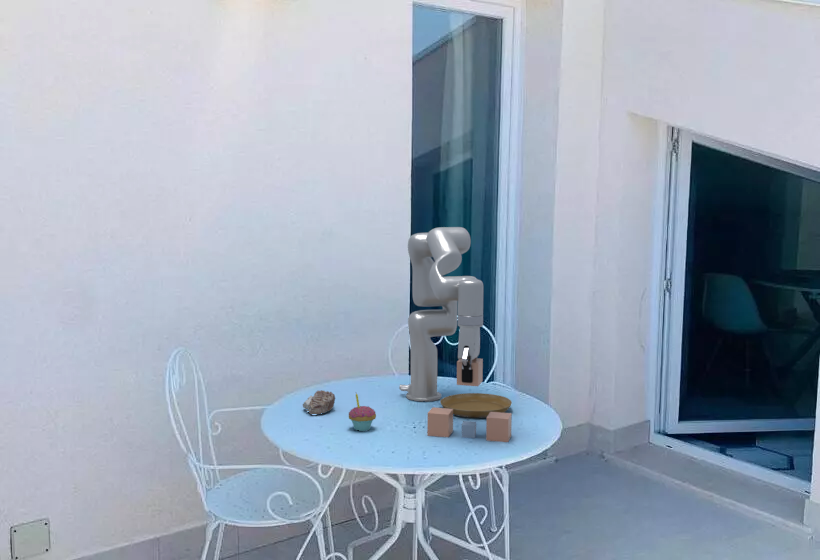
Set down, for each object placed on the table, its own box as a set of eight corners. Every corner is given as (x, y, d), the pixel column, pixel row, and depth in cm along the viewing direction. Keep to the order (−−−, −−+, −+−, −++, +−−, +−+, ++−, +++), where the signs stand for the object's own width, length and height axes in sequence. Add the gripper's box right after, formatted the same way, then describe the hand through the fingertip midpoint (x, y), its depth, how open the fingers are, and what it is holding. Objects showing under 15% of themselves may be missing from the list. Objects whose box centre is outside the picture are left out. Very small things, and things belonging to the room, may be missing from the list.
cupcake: (355, 434, 240) (354, 395, 239) (344, 427, 247) (343, 389, 246) (380, 430, 244) (380, 392, 243) (369, 423, 251) (368, 386, 250)
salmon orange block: (486, 440, 234) (486, 417, 233) (490, 434, 240) (490, 411, 240) (508, 442, 232) (508, 419, 232) (511, 435, 239) (511, 413, 238)
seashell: (305, 396, 274) (319, 374, 271) (329, 410, 275) (343, 387, 272) (296, 415, 260) (311, 392, 257) (321, 429, 261) (336, 406, 258)
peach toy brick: (427, 435, 239) (427, 412, 238) (432, 429, 245) (432, 407, 244) (448, 437, 237) (448, 414, 236) (453, 431, 243) (453, 408, 243)
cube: (461, 437, 237) (461, 424, 237) (462, 433, 241) (463, 421, 241) (474, 438, 236) (475, 425, 236) (476, 434, 240) (476, 421, 240)
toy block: (456, 384, 235) (456, 361, 234) (461, 379, 241) (461, 357, 240) (478, 386, 233) (478, 363, 232) (482, 381, 239) (482, 358, 239)
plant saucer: (430, 404, 275) (430, 395, 275) (492, 399, 283) (493, 390, 282) (456, 423, 252) (456, 413, 252) (524, 416, 260) (524, 407, 260)
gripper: (464, 315, 244) (463, 372, 246) (451, 324, 228) (450, 385, 230) (488, 316, 242) (487, 374, 244) (476, 326, 226) (476, 387, 228)
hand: (469, 379), depth 237 cm, fingers closed on toy block, 6 cm apart
